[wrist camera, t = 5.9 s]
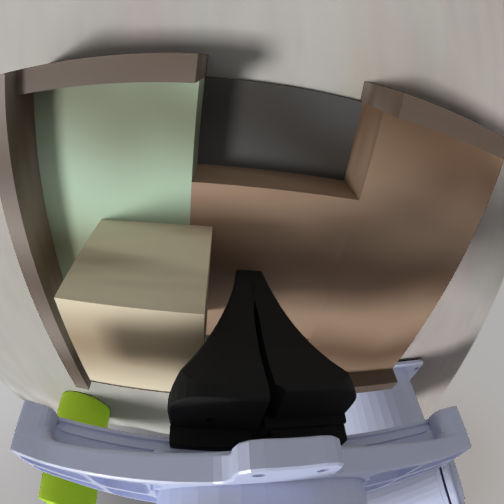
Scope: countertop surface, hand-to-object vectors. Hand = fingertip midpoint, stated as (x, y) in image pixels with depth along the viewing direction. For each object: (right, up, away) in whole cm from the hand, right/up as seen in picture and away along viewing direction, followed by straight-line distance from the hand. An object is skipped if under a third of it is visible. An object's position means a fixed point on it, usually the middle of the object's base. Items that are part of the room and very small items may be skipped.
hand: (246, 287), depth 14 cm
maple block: (-4, +1, 0) cm, 4 cm away
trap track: (+1, +2, +3) cm, 3 cm away
